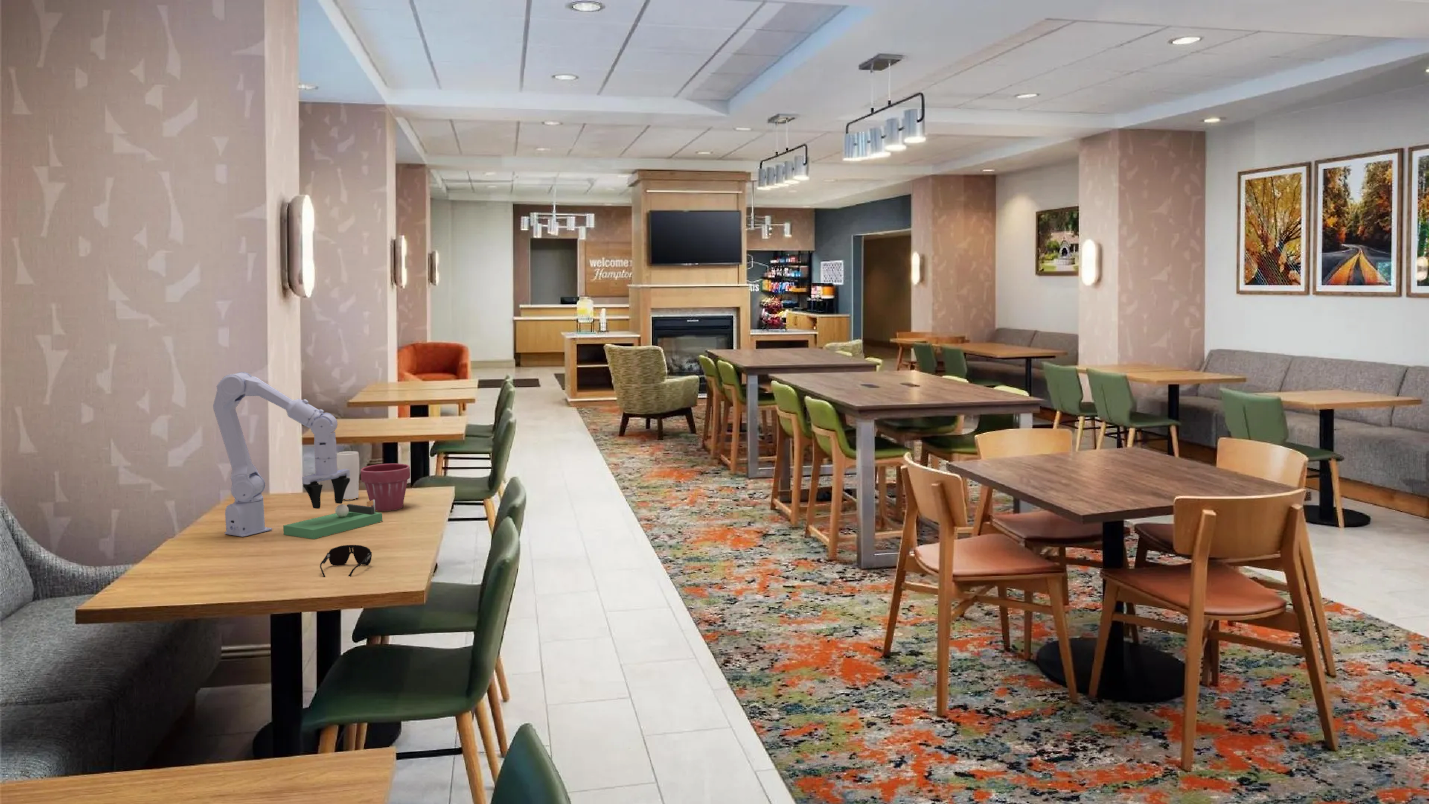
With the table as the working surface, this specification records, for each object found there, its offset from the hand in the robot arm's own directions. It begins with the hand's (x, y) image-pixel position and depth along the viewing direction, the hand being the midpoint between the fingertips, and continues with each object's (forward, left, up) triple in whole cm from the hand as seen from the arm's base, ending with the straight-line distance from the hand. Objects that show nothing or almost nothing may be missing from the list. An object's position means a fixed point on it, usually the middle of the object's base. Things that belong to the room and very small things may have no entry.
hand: (327, 505), depth 288 cm
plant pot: (+28, +7, -7) cm, 29 cm away
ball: (+5, 0, -2) cm, 5 cm away
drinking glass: (+33, +29, -7) cm, 44 cm away
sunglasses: (-28, -39, -7) cm, 49 cm away
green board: (+2, 0, -7) cm, 7 cm away
